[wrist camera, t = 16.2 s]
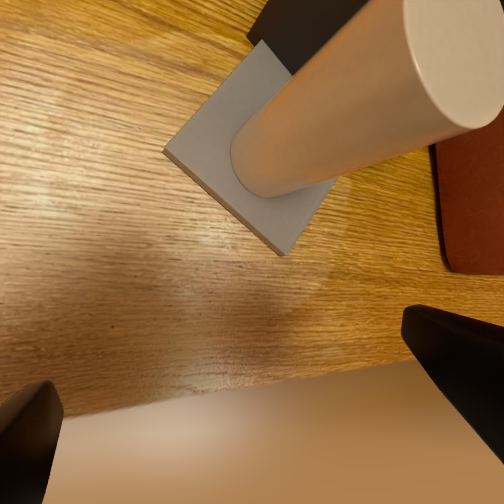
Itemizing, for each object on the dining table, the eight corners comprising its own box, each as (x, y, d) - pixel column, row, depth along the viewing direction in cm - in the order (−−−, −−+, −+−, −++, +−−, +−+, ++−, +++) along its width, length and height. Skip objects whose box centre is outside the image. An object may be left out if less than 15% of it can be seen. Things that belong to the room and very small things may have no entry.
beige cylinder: (223, 185, 19) (392, 81, 8) (238, 106, 20) (418, -106, 8) (293, 207, 22) (504, 152, 10) (304, 135, 22) (519, 4, 11)
